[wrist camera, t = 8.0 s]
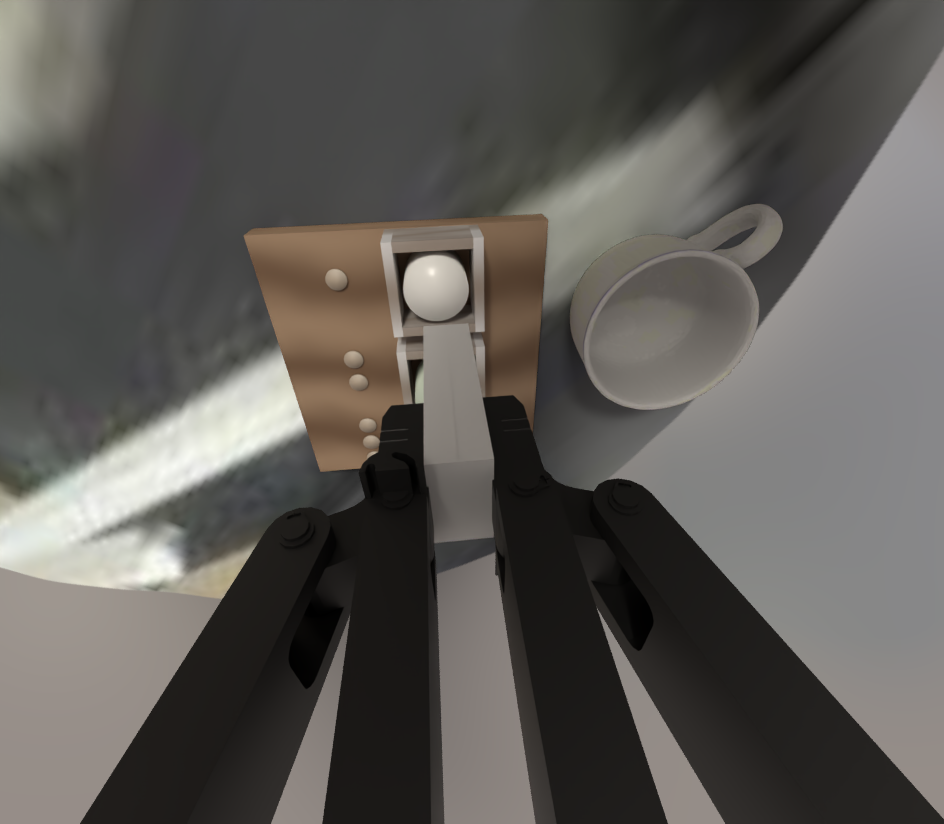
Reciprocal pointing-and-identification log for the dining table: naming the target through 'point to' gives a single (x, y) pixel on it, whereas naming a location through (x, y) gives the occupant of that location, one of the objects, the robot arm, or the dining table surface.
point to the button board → (394, 317)
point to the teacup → (671, 311)
